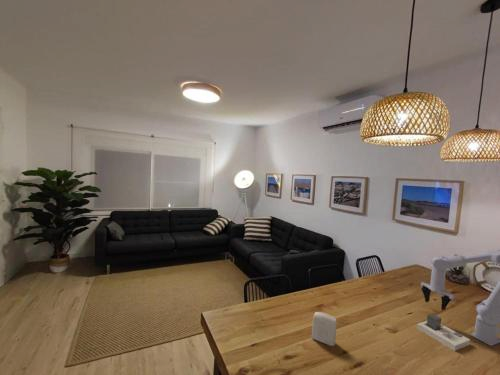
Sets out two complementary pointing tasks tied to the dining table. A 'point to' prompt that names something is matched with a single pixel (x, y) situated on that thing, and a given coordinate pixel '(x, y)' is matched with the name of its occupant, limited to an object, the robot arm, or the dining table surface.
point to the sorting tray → (445, 336)
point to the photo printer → (324, 328)
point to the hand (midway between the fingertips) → (434, 305)
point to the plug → (434, 322)
